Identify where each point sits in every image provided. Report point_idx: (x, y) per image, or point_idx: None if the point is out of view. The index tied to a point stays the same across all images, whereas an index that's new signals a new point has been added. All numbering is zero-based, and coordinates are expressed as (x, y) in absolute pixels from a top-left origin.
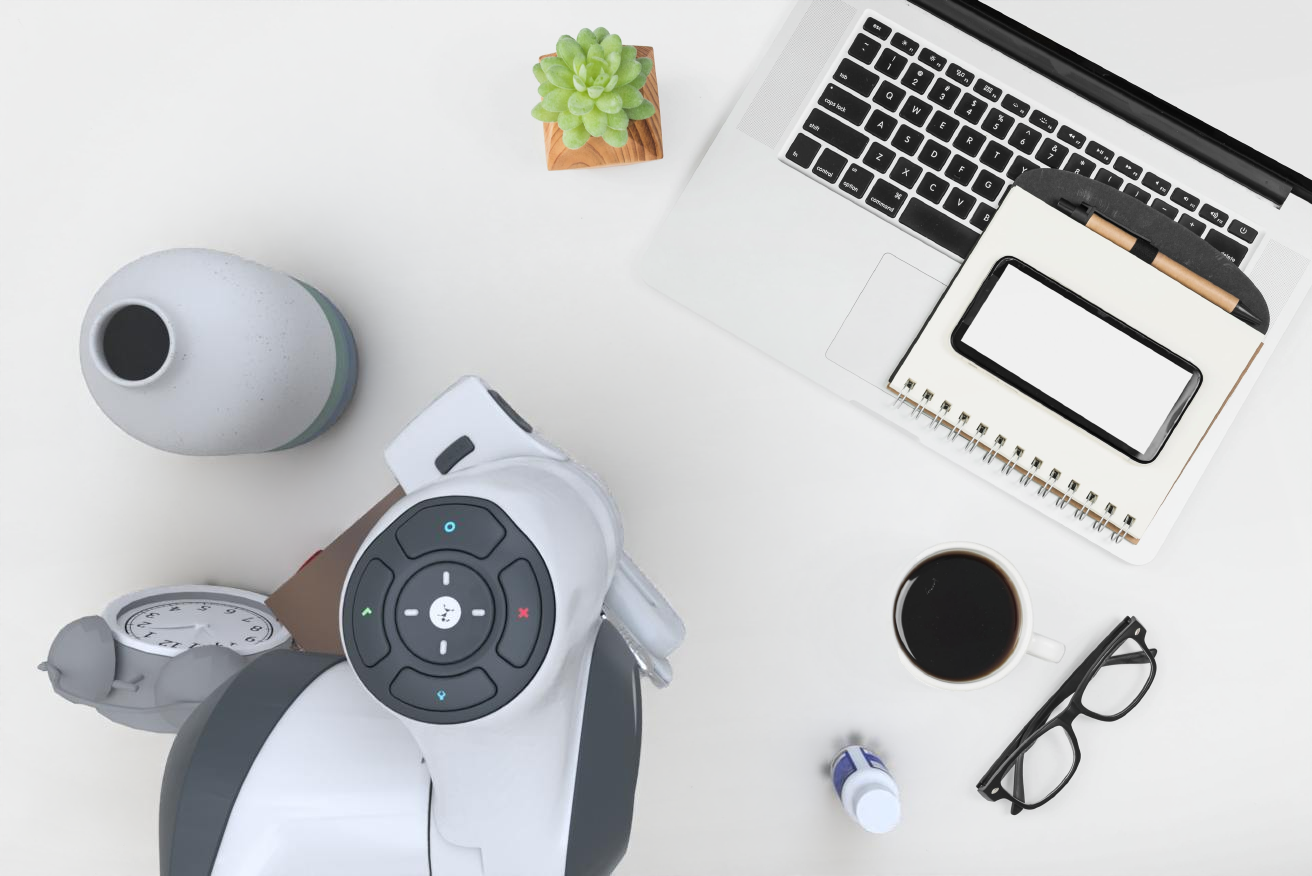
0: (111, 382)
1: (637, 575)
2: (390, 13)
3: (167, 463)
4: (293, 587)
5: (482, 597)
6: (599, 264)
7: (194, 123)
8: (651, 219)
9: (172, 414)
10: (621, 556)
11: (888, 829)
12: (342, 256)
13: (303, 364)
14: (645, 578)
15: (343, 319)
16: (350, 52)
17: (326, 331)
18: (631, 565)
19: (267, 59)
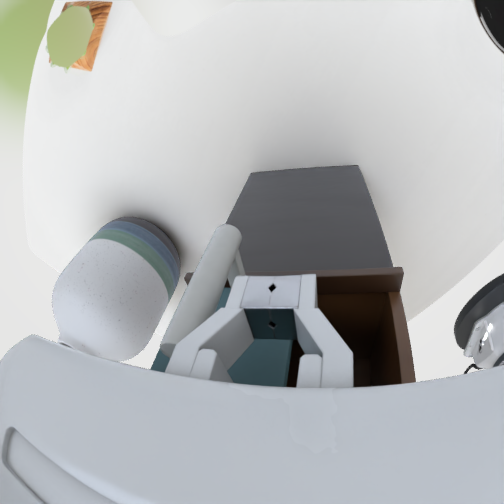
0: None
1: (483, 472)
2: (24, 128)
3: (173, 306)
4: None
5: None
6: (150, 56)
7: (52, 222)
8: (140, 15)
9: (115, 356)
10: (422, 487)
11: None
12: (102, 197)
13: (112, 282)
14: (499, 408)
15: (120, 222)
16: (33, 151)
17: (111, 247)
18: (459, 451)
19: (34, 185)
